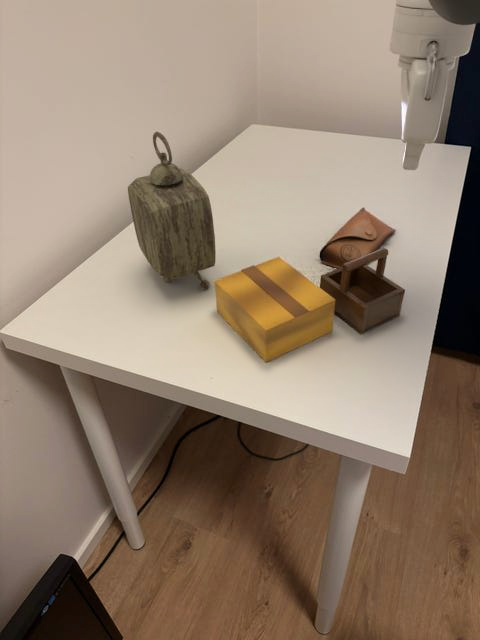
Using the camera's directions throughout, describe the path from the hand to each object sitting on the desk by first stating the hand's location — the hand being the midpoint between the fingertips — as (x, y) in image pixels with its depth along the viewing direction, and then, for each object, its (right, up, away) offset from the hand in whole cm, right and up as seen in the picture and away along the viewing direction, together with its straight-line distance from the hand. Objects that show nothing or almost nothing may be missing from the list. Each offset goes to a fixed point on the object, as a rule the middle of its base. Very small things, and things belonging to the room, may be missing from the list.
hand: (408, 153), depth 64 cm
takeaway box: (-17, -22, +11) cm, 30 cm away
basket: (-4, -20, +13) cm, 24 cm away
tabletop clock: (-33, -15, +21) cm, 42 cm away
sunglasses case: (0, -8, +27) cm, 29 cm away
